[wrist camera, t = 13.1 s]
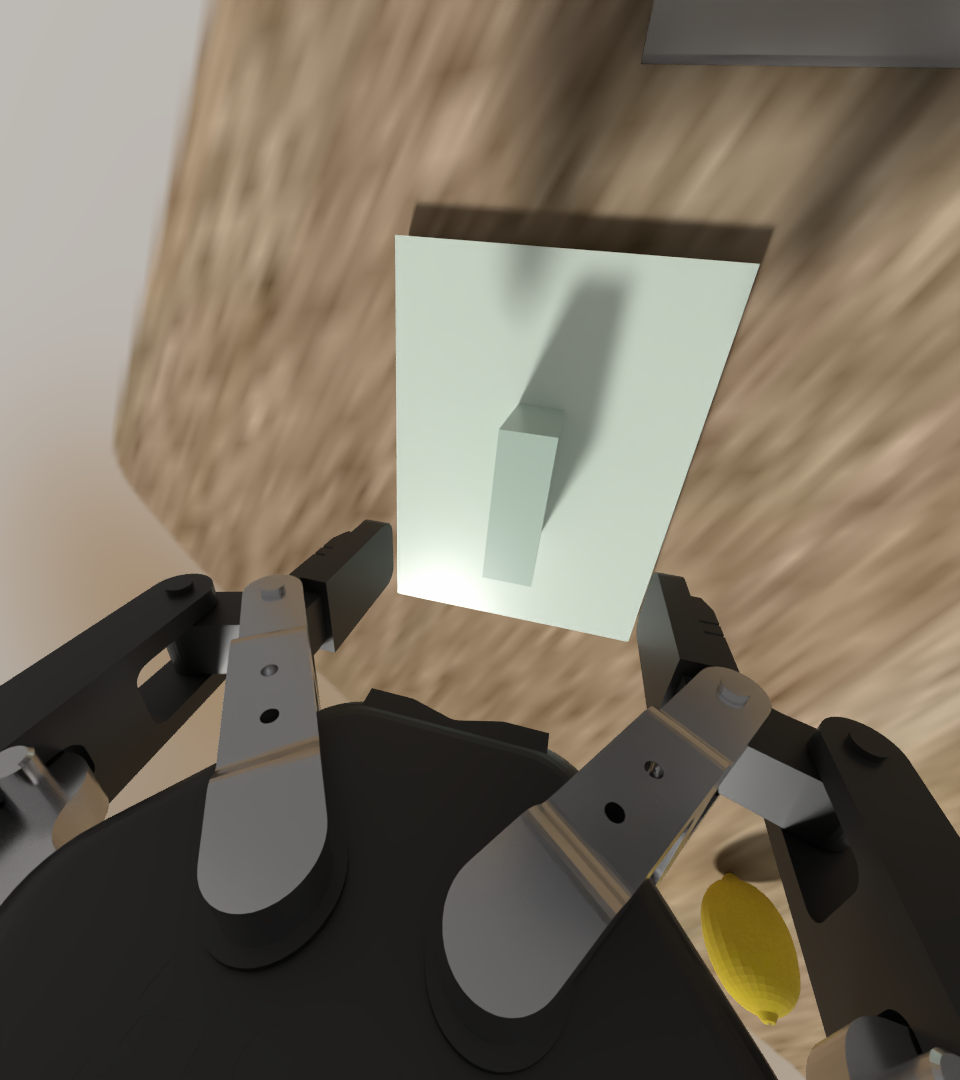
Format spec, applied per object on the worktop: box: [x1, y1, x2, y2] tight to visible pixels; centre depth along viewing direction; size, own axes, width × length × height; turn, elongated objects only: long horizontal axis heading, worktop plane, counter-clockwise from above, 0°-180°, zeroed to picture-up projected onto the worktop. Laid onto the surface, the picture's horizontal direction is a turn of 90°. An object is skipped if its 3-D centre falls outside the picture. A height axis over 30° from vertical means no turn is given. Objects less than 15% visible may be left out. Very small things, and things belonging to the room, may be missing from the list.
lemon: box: [701, 873, 800, 1025], centre depth 29 cm, size 6×6×8 cm
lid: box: [395, 235, 760, 642], centre depth 18 cm, size 13×17×7 cm
